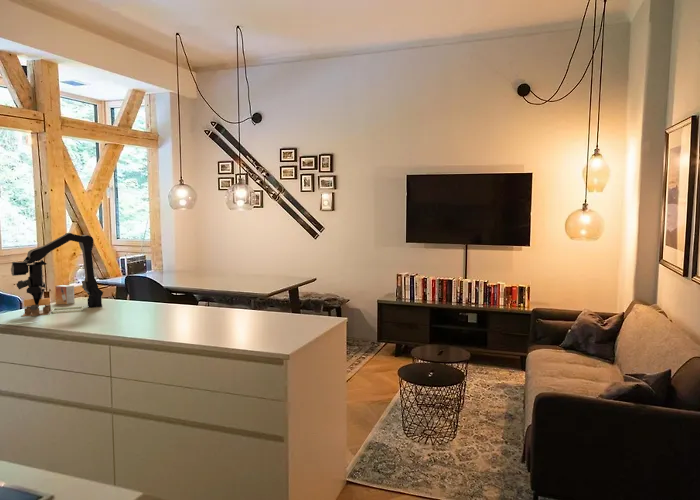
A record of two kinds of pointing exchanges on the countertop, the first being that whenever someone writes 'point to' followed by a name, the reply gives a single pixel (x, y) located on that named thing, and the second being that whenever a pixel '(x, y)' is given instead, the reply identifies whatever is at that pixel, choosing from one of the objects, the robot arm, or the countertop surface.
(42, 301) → the wooden rectangular block
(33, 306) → the tie
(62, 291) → the small box
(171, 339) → the countertop surface
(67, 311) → the tray
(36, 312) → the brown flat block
